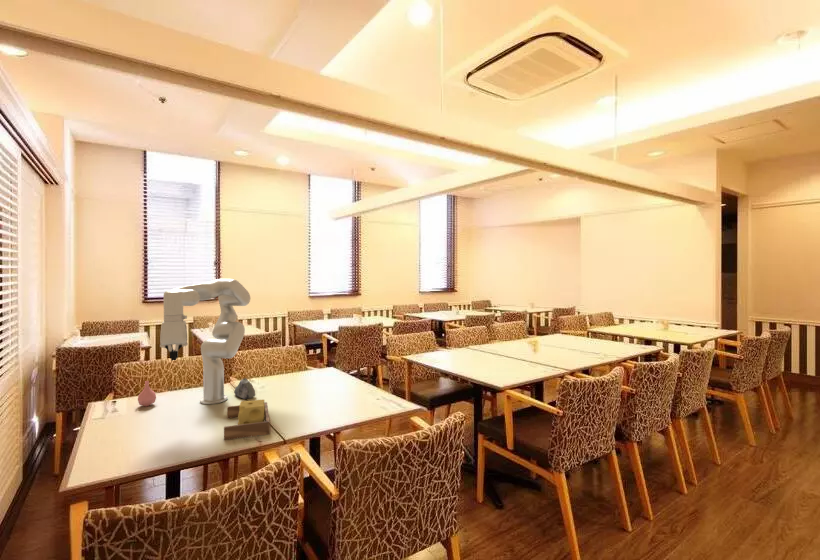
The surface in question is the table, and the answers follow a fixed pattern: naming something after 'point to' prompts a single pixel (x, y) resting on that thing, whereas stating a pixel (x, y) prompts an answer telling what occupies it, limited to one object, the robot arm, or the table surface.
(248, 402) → the cheese
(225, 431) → the wooden u-shaped bracket
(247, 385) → the mineral rock
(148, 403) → the pink rounded piece
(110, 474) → the table surface
